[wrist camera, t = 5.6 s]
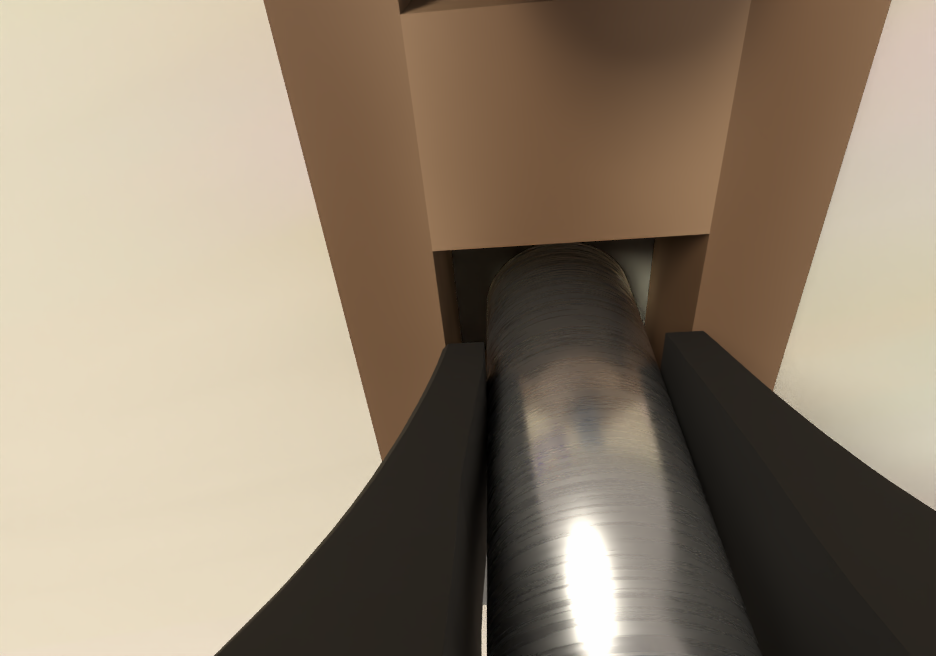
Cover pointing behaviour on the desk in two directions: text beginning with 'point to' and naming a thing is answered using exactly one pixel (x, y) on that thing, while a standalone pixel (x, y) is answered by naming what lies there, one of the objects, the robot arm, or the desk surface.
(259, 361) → the desk surface
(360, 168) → the walnut hole block
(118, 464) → the desk surface
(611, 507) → the steel pin
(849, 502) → the robot arm
